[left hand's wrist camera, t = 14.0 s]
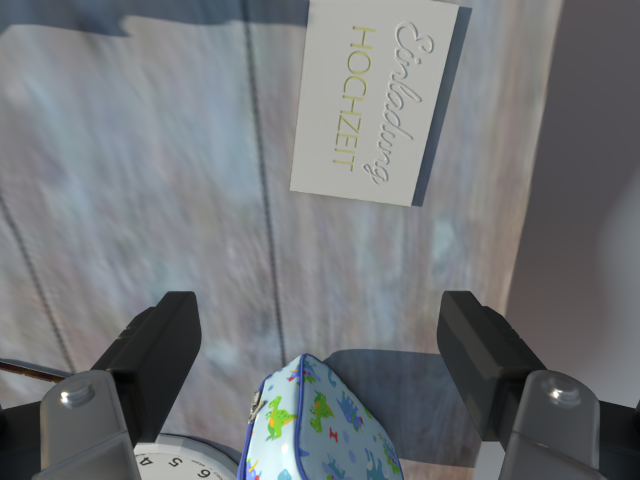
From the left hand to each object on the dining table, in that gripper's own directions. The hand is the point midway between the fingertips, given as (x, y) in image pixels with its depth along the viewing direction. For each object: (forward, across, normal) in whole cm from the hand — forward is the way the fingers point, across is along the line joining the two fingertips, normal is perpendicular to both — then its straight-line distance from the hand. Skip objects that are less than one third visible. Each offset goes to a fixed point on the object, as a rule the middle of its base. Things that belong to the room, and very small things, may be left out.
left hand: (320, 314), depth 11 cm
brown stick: (+32, -43, -32) cm, 62 cm away
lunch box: (+32, +1, -38) cm, 50 cm away
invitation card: (+32, +5, +6) cm, 33 cm away
